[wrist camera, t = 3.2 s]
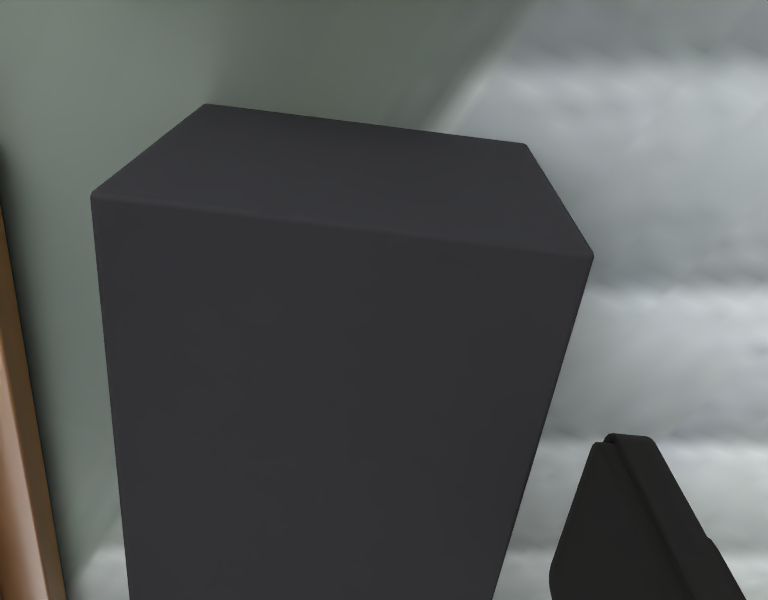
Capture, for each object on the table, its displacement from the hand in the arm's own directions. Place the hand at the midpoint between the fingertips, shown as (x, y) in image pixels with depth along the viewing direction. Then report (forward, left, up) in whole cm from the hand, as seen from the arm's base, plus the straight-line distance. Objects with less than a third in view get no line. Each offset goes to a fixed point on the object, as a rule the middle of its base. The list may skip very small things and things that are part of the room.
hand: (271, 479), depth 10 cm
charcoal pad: (-1, 0, -5) cm, 5 cm away
